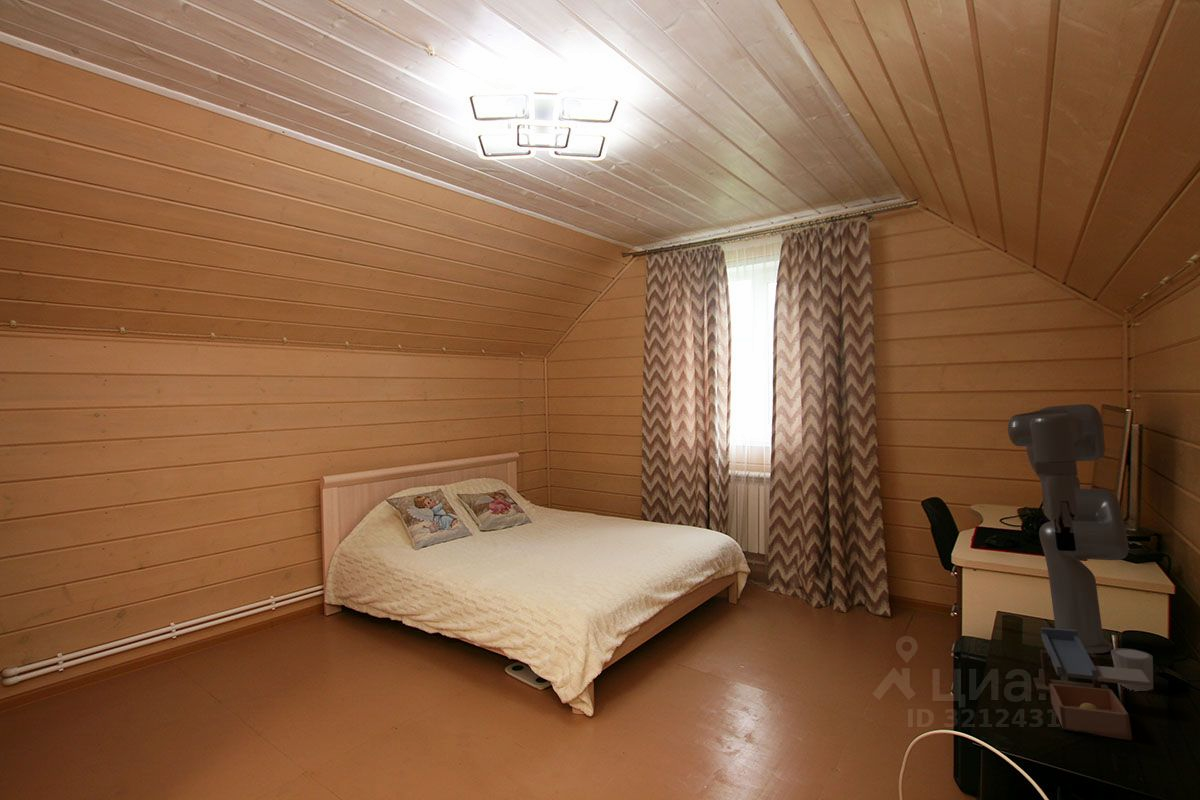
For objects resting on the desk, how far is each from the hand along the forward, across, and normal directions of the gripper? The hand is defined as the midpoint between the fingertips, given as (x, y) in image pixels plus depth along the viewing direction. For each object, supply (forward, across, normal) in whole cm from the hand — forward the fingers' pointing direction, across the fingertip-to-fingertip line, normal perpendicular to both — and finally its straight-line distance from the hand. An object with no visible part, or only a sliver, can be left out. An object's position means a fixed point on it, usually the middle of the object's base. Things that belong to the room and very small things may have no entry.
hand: (1066, 549), depth 134 cm
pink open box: (+29, +21, -3) cm, 36 cm away
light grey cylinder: (+29, 0, +9) cm, 31 cm away
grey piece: (+23, +6, +1) cm, 24 cm away
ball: (+27, +22, -3) cm, 35 cm away
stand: (+29, +6, -3) cm, 30 cm away
